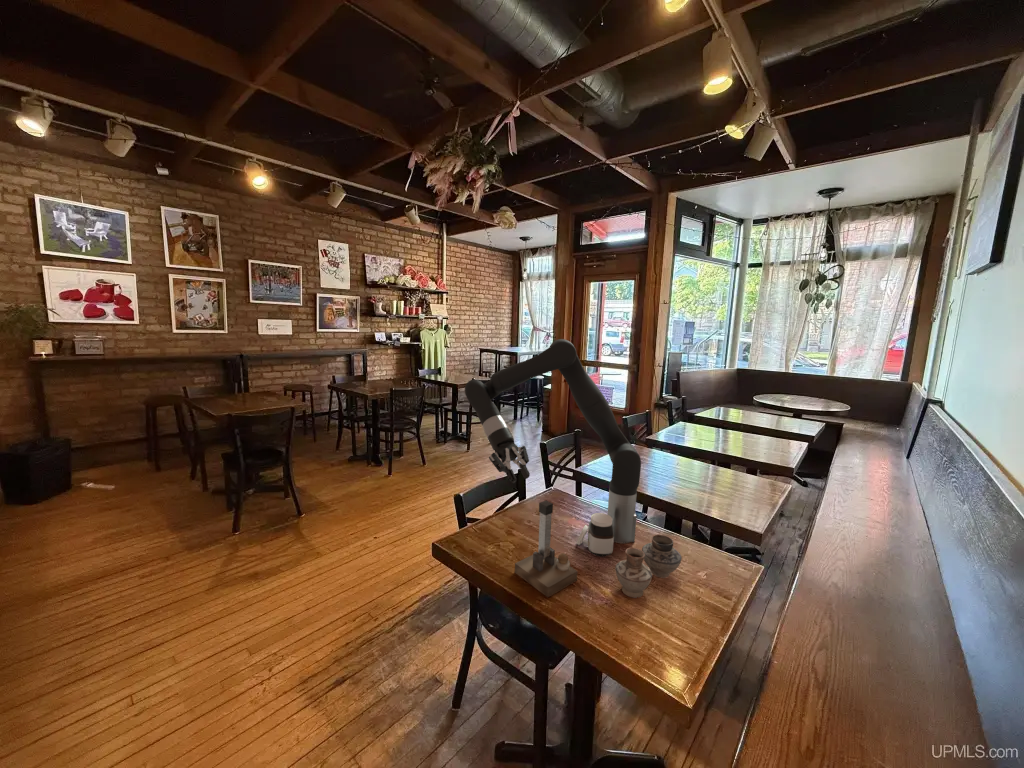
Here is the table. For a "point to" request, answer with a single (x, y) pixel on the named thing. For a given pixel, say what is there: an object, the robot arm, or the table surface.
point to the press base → (547, 572)
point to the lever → (545, 528)
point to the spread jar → (599, 535)
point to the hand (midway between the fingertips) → (521, 479)
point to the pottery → (657, 559)
